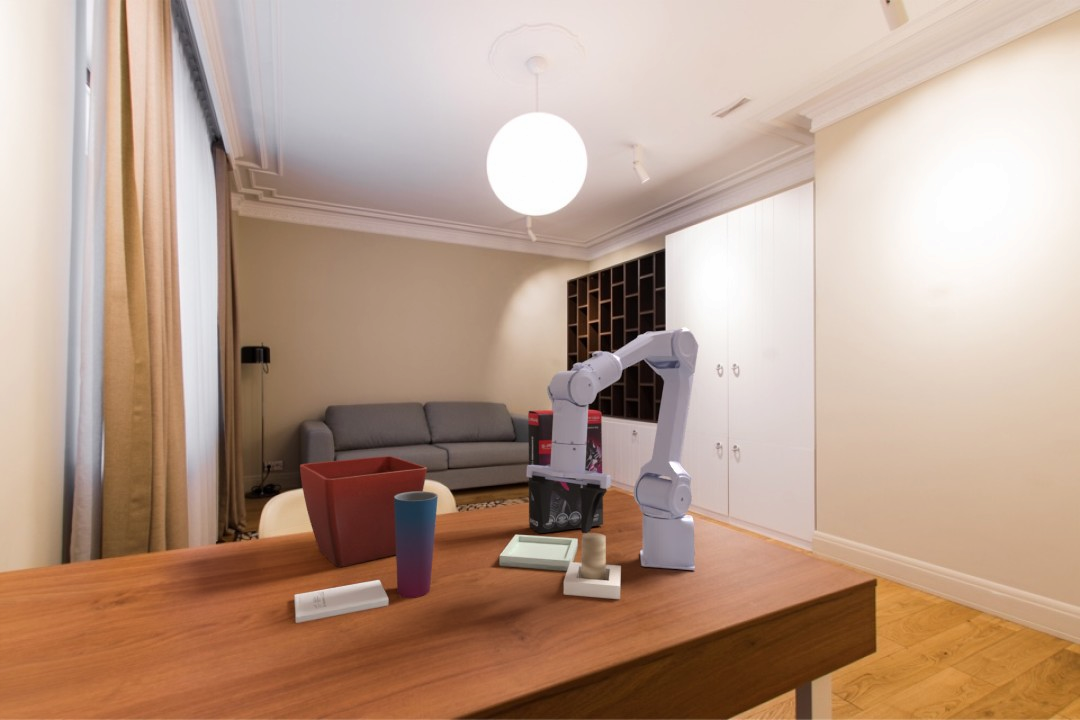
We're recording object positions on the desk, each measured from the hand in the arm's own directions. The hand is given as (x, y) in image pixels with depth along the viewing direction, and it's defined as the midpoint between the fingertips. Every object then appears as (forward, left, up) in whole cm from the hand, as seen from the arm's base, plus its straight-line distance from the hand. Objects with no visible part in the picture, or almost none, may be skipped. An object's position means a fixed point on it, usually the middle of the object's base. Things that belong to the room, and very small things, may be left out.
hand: (564, 527), depth 80 cm
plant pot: (+41, -10, -10) cm, 44 cm away
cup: (+23, +5, -10) cm, 26 cm away
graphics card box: (+4, -35, -10) cm, 37 cm away
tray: (+6, -15, -10) cm, 19 cm away
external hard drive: (+32, +11, -11) cm, 36 cm away
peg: (-5, -3, -10) cm, 11 cm away
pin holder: (-5, -3, -10) cm, 11 cm away
